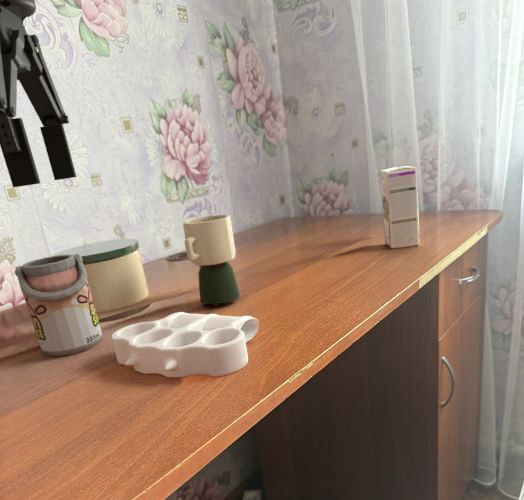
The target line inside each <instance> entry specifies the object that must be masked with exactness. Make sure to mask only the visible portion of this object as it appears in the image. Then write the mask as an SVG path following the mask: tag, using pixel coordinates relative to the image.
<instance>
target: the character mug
mask: <svg viewBox="0 0 524 500" xmlns="http://www.w3.org/2000/svg"><path fill="white" fill-rule="evenodd" d="M232 227H233V226H232V221H231V216H230V214H215V215H207V216H202V217H196V218H191V219H188V220H185V221H183V222H182V228H183V232H184V246H185V252H186V256H187V259H188V260H189V261H190V262H191V263H192V264H193V265H195V266H198V267H199V270H198V289H199V291H198V292H199V301H200V304H202V305H207V304H212V305H213V306H218V304H223V303H225V304H226V303H230V302H234V301H236V300H238V299H239V298H240V297H241V292H240V288H239V284H238V281H237V278H236V275H235V272H234V268H233V266H232V265H231V263H230V261H232V260H233V259H235V258H236V247H235V246H236V245H235V240H234V234H233V228H232Z"/></svg>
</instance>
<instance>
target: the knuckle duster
mask: <svg viewBox="0 0 524 500" xmlns="http://www.w3.org/2000/svg"><path fill="white" fill-rule="evenodd" d="M259 324H260V323H259V320H258V318H256V317H253V316H251V315H242V316H233V315H219V314H216V313H209V314H204V313H203V314H202V313H187V312H184V311H178V312H174V313H170V314H169V315H167V316H165V317H163V318H160V319H156V320H152V321H141V322H137V323H132V324H128V325H125V326H123V327H120V328H119V329H117V330H115V331H114V332H113V333H112V334H111V337H110V338H111V343H112V347H113V350H114V353H115V354H114V355H115V358H116V361H117V363H118V364H119V365H123V366H130V367H133V369H134V371H135V372H138V373H141V374H143V375H161V376H164V377H166V378H167V379H169V378H173V379H174V378H186V377H192V376H208V377H209V376H210V377H213V378H218V377H224V376H229V375H232V374H234V373H237V372H239V371H241V370H242V369H243V368H245V367H246V366H247V365H248V362H249V355H248V348H247V343H248V342H250V341H251V340H252V339H254V337H255V335H256V334H257V333H258V330H259Z"/></svg>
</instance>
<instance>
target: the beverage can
mask: <svg viewBox="0 0 524 500" xmlns="http://www.w3.org/2000/svg"><path fill="white" fill-rule="evenodd" d="M82 262H83V259H82V257H80V256H79V254H75V255H74V256H73V255H58V256H54V255H52V256H47V257H42V258H38V259H33V260H31V261H27V262H25V263H23V264H22V265H18V266H17V265H16V266H15V270H14V275H15V276H16V277H17V280H18V284H19V288H20V291H21V293H22V295H23V298H24V302H25V305H26V308H27V311H28V314H29V316H30V319H31V322H32V326H33V329H34V332H35V335H36V337H37V341H38V344H39V347H40V349H41V351H43V352H44V353H45V354H47V355H49V356H51V357H64V356H65V357H66V356H70V355H75V354H79V353H81V352H85V351H87V350H90V349H92V348H93V347H95V346H96V345H97V344H98V343H100V341H101V338H102V334H103V332H102V328H101V325H100V324H101V323H99V317H98V314H97V313H96V310H95V306H94V302H93V299H92V295H91V292H90V288H89V284H88V281H87V273H86V270H85V268H84V265H83V263H82Z"/></svg>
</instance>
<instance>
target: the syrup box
mask: <svg viewBox="0 0 524 500" xmlns="http://www.w3.org/2000/svg"><path fill="white" fill-rule="evenodd" d="M380 178H381V179H380V181H381V182H380V183H381V198H382V199H381V200H382V215H383V217H382V218H383V232H384V244H385V245H387V246H388V247H389V248H390V249H401V248H408V247H415V246H419V245H420V217H419V192H418V168H417V167H416V166H410V165H404V166H403V165H402V166H394V167H390V168H386V169H381V170H380Z"/></svg>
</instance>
